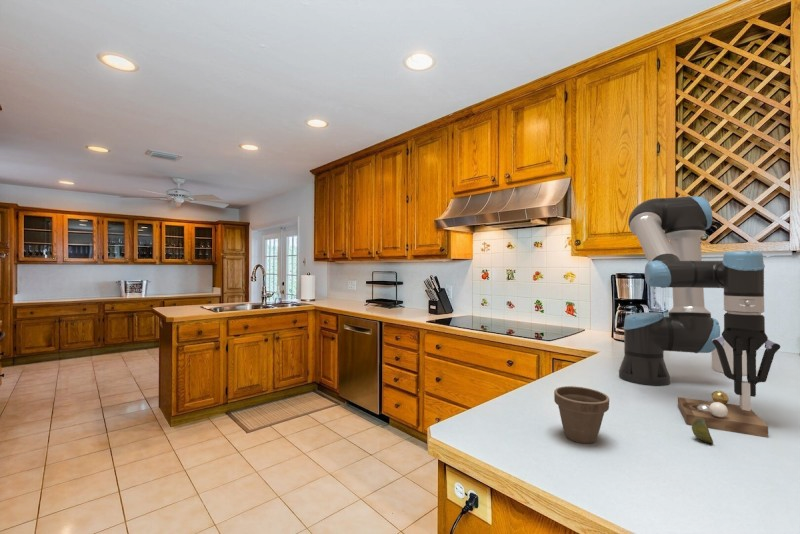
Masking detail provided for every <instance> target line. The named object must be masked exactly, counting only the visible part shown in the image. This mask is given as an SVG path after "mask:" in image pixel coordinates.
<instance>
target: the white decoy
mask: <svg viewBox="0 0 800 534" xmlns="http://www.w3.org/2000/svg"><path fill="white" fill-rule="evenodd" d="M713 402H714V401H713ZM709 410H710V412H711V413H712V414H713V415H714V416H716V417H725V416H726V415H727V414H728V409H727V407H726V406H725V405H724V404H722V403H719V402H714V403H712V404H711V405H710V406H709Z"/></svg>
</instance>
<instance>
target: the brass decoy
mask: <svg viewBox="0 0 800 534" xmlns="http://www.w3.org/2000/svg"><path fill="white" fill-rule="evenodd" d="M729 399H730V398H729V396H728V394H727V393H725V392H724V391H722V390H716V391H713V392H712V393H711V400H712V402H719V403H722V404H728V402H729V401H730V400H729Z"/></svg>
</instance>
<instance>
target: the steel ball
mask: <svg viewBox="0 0 800 534" xmlns="http://www.w3.org/2000/svg"><path fill="white" fill-rule="evenodd" d="M696 409H698V410H702V411H710V410H709V405H707V404H700V405H698V406H697V408H696Z"/></svg>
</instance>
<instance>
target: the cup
mask: <svg viewBox="0 0 800 534" xmlns="http://www.w3.org/2000/svg"><path fill="white" fill-rule="evenodd" d="M723 348H724V350H725V353H726V357H727V360H728V363H729V366H730V369H731V372H732V374H733V348H732V347H731V346H730V345H729V344H728V343H727V342H726V341H725V340H724V346H723ZM711 370H712V371H714V372H717V373H721V374H724V371H723V368H722V365H721V362H720V359H719V356H718V352H717V349H716V348H715V350H713V351H712V352H711ZM743 376H744V377H745V376H746V377H747V354H746V350H745V351H743V354H742V377H743Z"/></svg>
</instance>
